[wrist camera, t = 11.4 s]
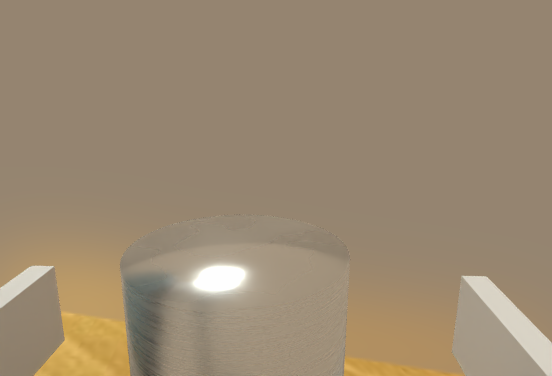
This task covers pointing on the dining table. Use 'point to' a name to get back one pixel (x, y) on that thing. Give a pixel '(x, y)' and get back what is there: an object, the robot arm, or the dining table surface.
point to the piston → (236, 299)
